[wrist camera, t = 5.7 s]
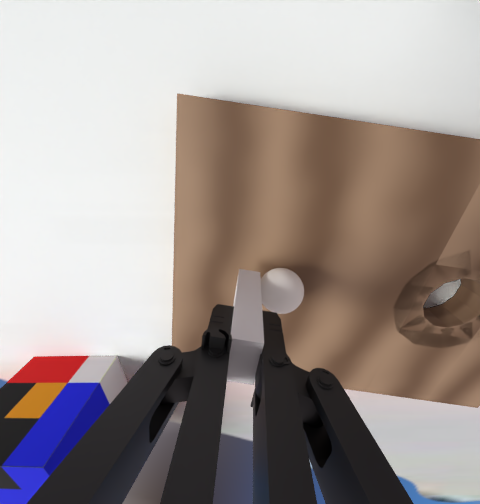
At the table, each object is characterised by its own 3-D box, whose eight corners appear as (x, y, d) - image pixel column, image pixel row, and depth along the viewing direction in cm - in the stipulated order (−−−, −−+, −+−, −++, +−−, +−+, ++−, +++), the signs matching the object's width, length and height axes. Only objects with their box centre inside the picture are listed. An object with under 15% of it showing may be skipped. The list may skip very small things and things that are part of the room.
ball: (253, 264, 16) (285, 289, 14) (285, 256, 18) (319, 278, 15) (246, 301, 17) (274, 330, 15) (277, 291, 19) (306, 315, 17)
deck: (179, 344, 24) (171, 364, 22) (188, 101, 15) (177, 93, 13) (456, 383, 25) (477, 407, 22) (623, 167, 16) (687, 170, 13)
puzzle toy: (117, 355, 26) (43, 467, 17) (139, 412, 30) (89, 527, 21) (34, 356, 27) (-81, 464, 17) (67, 411, 30) (-13, 523, 21)
